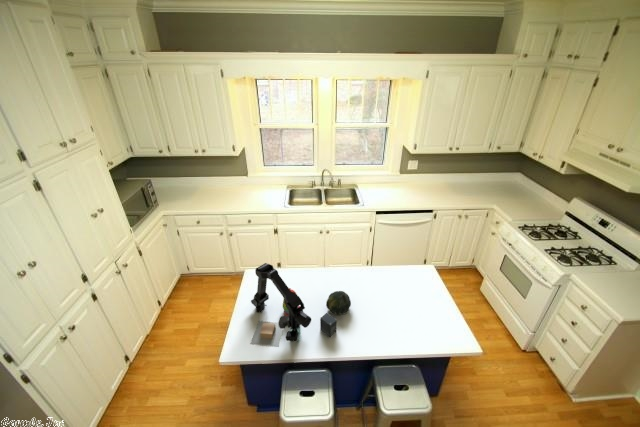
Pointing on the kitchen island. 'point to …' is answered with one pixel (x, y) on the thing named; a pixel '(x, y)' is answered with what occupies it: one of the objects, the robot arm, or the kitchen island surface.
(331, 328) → the box
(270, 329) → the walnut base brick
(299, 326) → the teal brick
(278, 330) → the baseplate
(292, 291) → the stacking bear
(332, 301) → the squash
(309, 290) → the kitchen island surface
